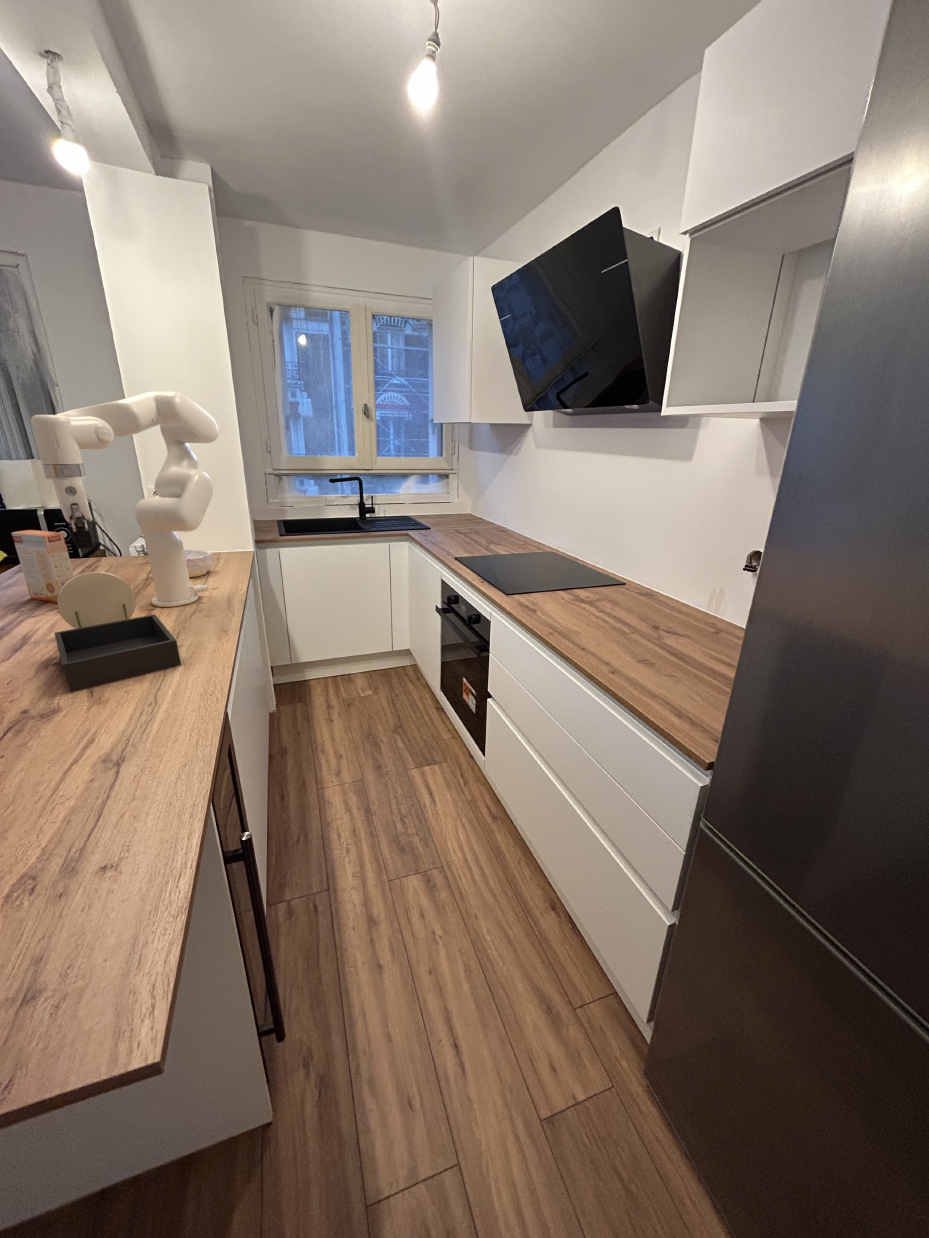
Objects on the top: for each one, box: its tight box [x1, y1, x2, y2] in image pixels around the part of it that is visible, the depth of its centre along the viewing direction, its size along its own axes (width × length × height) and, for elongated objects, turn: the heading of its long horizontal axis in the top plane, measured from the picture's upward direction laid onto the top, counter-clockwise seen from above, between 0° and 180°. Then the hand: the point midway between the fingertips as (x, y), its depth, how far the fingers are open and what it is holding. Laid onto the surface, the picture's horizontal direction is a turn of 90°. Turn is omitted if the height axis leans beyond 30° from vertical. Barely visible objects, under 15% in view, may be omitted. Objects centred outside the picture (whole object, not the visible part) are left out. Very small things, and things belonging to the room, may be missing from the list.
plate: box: [56, 571, 137, 629], centre depth 124 cm, size 16×1×16 cm, turn 131°
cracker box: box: [11, 529, 75, 604], centre depth 148 cm, size 14×6×21 cm, turn 71°
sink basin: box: [54, 613, 182, 693], centre depth 110 cm, size 20×22×6 cm
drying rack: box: [75, 604, 129, 628], centre depth 126 cm, size 16×8×7 cm, turn 131°
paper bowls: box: [184, 549, 214, 578], centre depth 179 cm, size 15×15×8 cm
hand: (82, 544), depth 119 cm, fingers open, 9 cm apart
